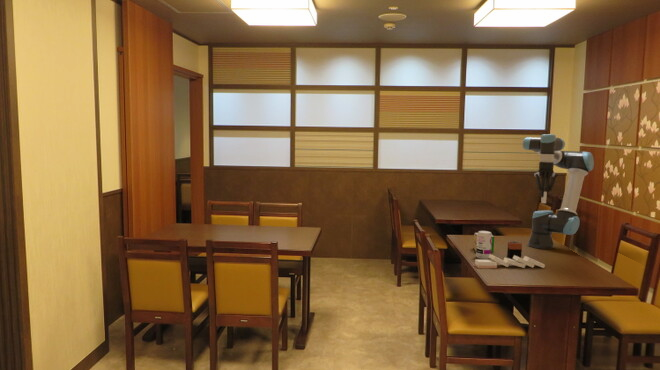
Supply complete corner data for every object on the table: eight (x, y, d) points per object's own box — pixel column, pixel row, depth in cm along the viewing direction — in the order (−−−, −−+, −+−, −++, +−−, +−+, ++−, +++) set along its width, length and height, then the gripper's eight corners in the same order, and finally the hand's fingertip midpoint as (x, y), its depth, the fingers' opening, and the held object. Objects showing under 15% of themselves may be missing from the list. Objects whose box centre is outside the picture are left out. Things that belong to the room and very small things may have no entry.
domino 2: (492, 263, 261) (475, 263, 260) (496, 265, 256) (478, 265, 255) (492, 266, 261) (474, 266, 260) (496, 269, 256) (478, 269, 256)
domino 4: (521, 262, 262) (504, 257, 261) (525, 264, 258) (508, 259, 256) (520, 265, 263) (503, 260, 261) (524, 268, 258) (507, 263, 256)
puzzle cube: (489, 249, 299) (490, 233, 298) (493, 253, 289) (494, 236, 288) (473, 248, 300) (474, 232, 299) (476, 252, 290) (477, 236, 289)
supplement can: (490, 256, 280) (492, 231, 278) (490, 260, 272) (492, 234, 271) (476, 255, 283) (477, 230, 281) (475, 258, 275) (477, 232, 273)
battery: (506, 256, 281) (507, 240, 279) (518, 257, 280) (519, 240, 279) (509, 258, 276) (510, 241, 275) (521, 259, 276) (522, 242, 275)
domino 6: (540, 262, 263) (524, 255, 262) (545, 264, 258) (529, 258, 257) (538, 265, 263) (523, 258, 262) (543, 268, 258) (527, 261, 257)
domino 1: (493, 259, 261) (475, 259, 261) (496, 262, 256) (478, 261, 256) (493, 263, 261) (474, 263, 261) (496, 265, 256) (478, 265, 256)
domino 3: (504, 261, 263) (490, 253, 261) (509, 264, 258) (494, 256, 256) (503, 264, 263) (488, 256, 261) (507, 267, 258) (492, 259, 256)
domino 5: (529, 261, 263) (514, 255, 261) (534, 264, 258) (518, 257, 256) (528, 265, 263) (512, 258, 261) (533, 267, 258) (517, 260, 256)
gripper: (554, 161, 277) (551, 202, 279) (532, 160, 276) (529, 201, 279) (561, 162, 269) (558, 204, 272) (538, 161, 269) (535, 203, 271)
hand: (543, 202), depth 275 cm, fingers closed
